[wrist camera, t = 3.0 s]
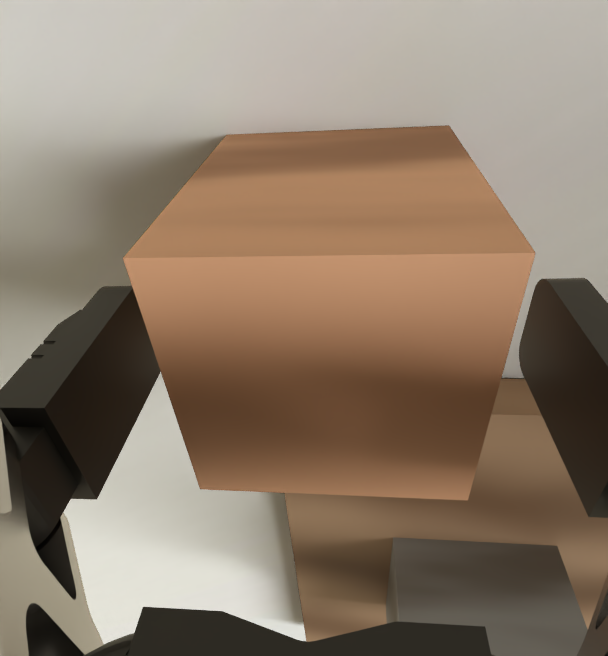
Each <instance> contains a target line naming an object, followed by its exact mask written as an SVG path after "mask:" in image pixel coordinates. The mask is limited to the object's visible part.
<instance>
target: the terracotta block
mask: <svg viewBox="0 0 608 656" xmlns="http://www.w3.org/2000/svg"><path fill="white" fill-rule="evenodd" d="M534 256H535V251H534V250H533V249H532V247H531V246H530V244H529V243H528V241H527V240H526V238H525V237H524V235H523V234H522V232H521V231H520V229H519V228H518V226H517V225H516V224H515V222H514V221H513V219H512V218H511V216H510V215H509V213H508V212H507V210H506V209H505V207H504V206H503V204H502V203H501V201H500V200H499V198H498V197H497V196H496V194H495V193H494V191H493V190H492V188H491V187H490V185H489V184H488V182H487V181H486V179H485V178H484V176H483V175H482V173H481V172H480V171H479V169H478V168H477V166H476V165H475V163H474V162H473V160H472V159H471V157H470V156H469V154H468V153H467V151H466V150H465V148H464V147H463V146H462V144H461V143H460V141H459V140H458V138H457V137H456V135H455V134H454V132H453V131H452V129H451V128H450V126H427V127H403V128H378V129H354V130H330V131H306V132H282V133H258V134H234V135H226V136H225V137H224V139H223V140H222V141H221V142H220V143H219V144H218V146H217V147H216V148H215V149H214V150H213V152H212V153H211V154H210V155H209V156H208V158H207V159H206V160H205V161H204V162H203V164H202V165H201V166H200V167H199V168H198V169H197V171H196V172H195V173H194V174H193V175H192V177H191V178H190V179H189V180H188V181H187V183H186V184H185V185H184V186H183V187H182V188H181V190H180V191H179V192H178V193H177V194H176V196H175V197H174V198H173V199H172V200H171V202H170V203H169V204H168V205H167V206H166V207H165V209H164V210H163V211H162V212H161V213H160V215H159V216H158V217H157V218H156V219H155V221H154V222H153V223H152V224H151V225H150V226H149V228H148V229H147V230H146V231H145V232H144V234H143V235H142V236H141V237H140V238H139V240H138V241H137V242H136V243H135V244H134V245H133V247H132V248H131V249H130V250H129V251H128V253H127V254H126V255H125V256H124V257H123V260H124V263H125V266H126V269H127V272H128V275H129V278H130V281H131V284H132V287H133V290H134V293H135V296H136V299H137V302H138V305H139V308H140V311H141V314H142V317H143V320H144V323H145V326H146V329H147V332H148V335H149V338H150V341H151V344H152V347H153V350H154V353H155V356H156V359H157V362H158V365H159V368H160V371H161V374H162V377H163V380H164V383H165V386H166V388H167V391H168V394H169V397H170V400H171V403H172V406H173V409H174V412H175V415H176V418H177V421H178V424H179V427H180V430H181V433H182V436H183V439H184V442H185V445H186V448H187V451H188V454H189V457H190V460H191V463H192V466H193V469H194V472H195V475H196V478H197V481H198V484H199V487H200V489H208V490H232V491H256V492H279V493H303V494H327V495H350V496H374V497H398V498H421V499H445V500H468V498H469V494H470V491H471V487H472V483H473V480H474V476H475V472H476V469H477V465H478V461H479V458H480V454H481V450H482V447H483V443H484V439H485V436H486V432H487V428H488V425H489V421H490V417H491V414H492V410H493V406H494V403H495V399H496V396H497V392H498V388H499V385H500V381H501V377H502V374H503V370H504V366H505V363H506V359H507V355H508V352H509V348H510V344H511V341H512V337H513V333H514V330H515V326H516V322H517V319H518V315H519V311H520V308H521V304H522V300H523V297H524V293H525V289H526V286H527V282H528V278H529V275H530V271H531V267H532V264H533V260H534Z"/></svg>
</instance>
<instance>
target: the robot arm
mask: <svg viewBox="0 0 608 656" xmlns="http://www.w3.org/2000/svg"><path fill="white" fill-rule="evenodd" d="M31 356H32V358H31V359H27V360H26V362H25V363H24V364H23V365H22V366H21V367H20V368H19V370H18V371H17V372H16V373H15V374H14V375H13V376H12V377H11V379H10V380H9V381H8V382H7V383H6V384H5V385H4V387H3V388H2V389H1V390H0V656H495V655H492V654H491V651H490V646H489V642H488V637H487V633H486V628H485V626H468V625H450V624H433V623H415V622H398V621H396V622H391V623H387V624H383V625H379V626H375V627H371V628H367V629H362V630H358V631H354V632H350V633H346V634H342V635H338V636H333V637H329V638H325V639H321V640H317V641H310V642H306V641H300V640H296V639H294V638H291V637H288V636H286V635H283V634H280V633H278V632H275V631H273V630H270V629H267V628H265V627H262V626H259V625H257V624H254V623H251V622H249V621H246V620H244V619H241V618H238V617H236V616H233V615H230V614H228V613H225V612H223V611H206V610H189V609H171V608H154V607H143V609H142V612H141V615H140V618H139V621H138V624H137V627H136V630H135V633H134V634H130V635H127V636H124V637H121V638H119V639H116V640H114V641H111V642H108V643H106V644H103V642H102V639H101V637H100V634H99V632H98V630H97V628H96V626H95V624H94V622H93V620H92V617H91V614H90V611H89V608H88V605H87V601H86V596H85V592H84V587H83V583H82V579H81V574H80V570H79V565H78V561H77V557H76V552H75V548H74V544H73V539H72V535H71V530H70V526H69V522H68V519H67V517H66V516H65V514H64V513H63V512H64V510H65V508H66V506H67V504H68V503H69V501H70V499H97V498H98V496H99V494H100V492H101V490H102V488H103V486H104V484H105V482H106V480H107V478H108V476H109V474H110V472H111V470H112V468H113V466H114V464H115V462H116V460H117V458H118V456H119V454H120V452H121V450H122V448H123V446H124V444H125V442H126V440H127V438H128V436H129V434H130V432H131V430H132V428H133V426H134V424H135V422H136V420H137V418H138V416H139V414H140V412H141V410H142V408H143V406H144V404H145V402H146V400H147V398H148V396H149V394H150V392H151V390H152V388H153V386H154V384H155V382H156V380H157V378H158V376H159V374H160V368H159V365H158V362H157V359H156V356H155V353H154V350H153V347H152V344H151V341H150V338H149V335H148V332H147V329H146V326H145V323H144V320H143V317H142V314H141V311H140V308H139V305H138V302H137V299H136V296H135V293H134V290H133V287H132V286H108V287H102V288H101V289H100V290H99V291H98V292H97V293H96V294H95V295H94V297H93V298H92V299H91V300H90V301H89V302H88V304H87V305H86V306H85V307H84V308H83V310H79V311H78V312H76V313H75V314H73V315H72V316H70V317H69V318H67V319H66V320H64V321H63V322H61V323H60V324H58V325H57V326H56V327H55V329H54V330H53V331H52V332H51V333H50V334H49V335H48V337H47V338H46V339H45V340H44V344H41V345H40V346H39V347H38V348H37V349H36V350H35V351H34V352H33V354H32V355H31ZM519 360H520V367H521V370H522V373H523V376H524V378H525V380H526V382H527V384H528V386H529V389H530V391H531V393H532V395H533V397H534V400H535V402H536V404H537V406H538V408H539V410H540V413H541V415H542V417H543V419H544V421H545V423H546V426H547V428H548V430H549V432H550V434H551V437H552V439H553V441H554V443H555V445H556V447H557V450H558V452H559V454H560V456H561V458H562V460H563V463H564V465H565V467H566V469H567V471H568V474H569V476H570V478H571V480H572V482H573V484H574V487H575V489H576V491H577V493H578V495H579V497H580V500H581V502H582V504H583V506H584V508H585V511H586V513H587V515H588V517H598V518H608V303H607V302H606V301H605V300H604V299H603V297H602V296H601V295H600V294H599V293H598V291H597V290H596V289H595V288H594V287H593V285H592V284H591V283H590V282H589V281H588V280H587V279H585V278H565V279H541V280H540V281H539V282H538V283H537V285H536V287H535V290H534V293H533V297H532V300H531V304H530V308H529V312H528V315H527V319H526V323H525V327H524V330H523V334H522V338H521V342H520V348H519ZM577 656H608V574H607V577H606V580H605V582H604V585H603V588H602V591H601V594H600V597H599V599H598V602H597V605H596V608H595V611H594V614H593V616H592V619H591V622H590V625H589V628H588V631H587V633H586V636H585V638H584V641H583V643H582V645H581V648H580V650H579V652H578V654H577Z"/></svg>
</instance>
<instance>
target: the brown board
mask: <svg viewBox="0 0 608 656" xmlns="http://www.w3.org/2000/svg"><path fill="white" fill-rule="evenodd" d="M284 494H285V501H286V507H287V514H288V521H289V528H290V534H291V541H292V548H293V554H294V561H295V568H296V574H297V581H298V588H299V594H300V601H301V608H302V614H303V621H304V628H305V635H306V641H307V642H310V641H317V640H321V639H325V638H329V637H333V636H338V635H342V634H346V633H350V632H354V631H358V630H362V629H367V628H371V627H375V626H379V625H383V624H387V623H391V622H396V621H398V622H415V623H433V624H450V625H468V626H485V628H486V633H487V637H488V642H489V646H490V651H491V654H492V655H495V656H577V654H578V652H579V650H580V648H581V645H582V643H583V641H584V638H585V636H586V633H587V631H588V628H589V625H590V622H591V619H592V616H593V614H594V611H595V608H596V605H597V602H598V599H599V597H600V594H601V591H602V588H603V585H604V582H605V580H606V577H607V574H608V518H598V517H588V515H587V513H586V511H585V508H584V506H583V504H582V502H581V500H580V497H579V495H578V493H577V491H576V489H575V487H574V484H573V482H572V480H571V478H570V476H569V474H568V471H567V469H566V467H565V465H564V463H563V460H562V458H561V456H560V454H559V452H558V450H557V447H556V445H555V443H554V441H553V439H552V437H551V434H550V432H549V430H548V428H547V426H546V423H545V421H544V419H543V417H542V415H541V413H540V410H539V408H538V406H537V404H536V402H535V400H534V397H533V395H532V393H531V391H530V389H529V386H528V384H527V382H526V380H525V379H501V381H500V385H499V388H498V392H497V396H496V399H495V403H494V406H493V410H492V414H491V417H490V421H489V425H488V428H487V432H486V436H485V439H484V443H483V447H482V450H481V454H480V458H479V461H478V465H477V469H476V472H475V476H474V480H473V483H472V487H471V491H470V494H469V498H468V500H445V499H421V498H398V497H374V496H350V495H327V494H303V493H284Z"/></svg>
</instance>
